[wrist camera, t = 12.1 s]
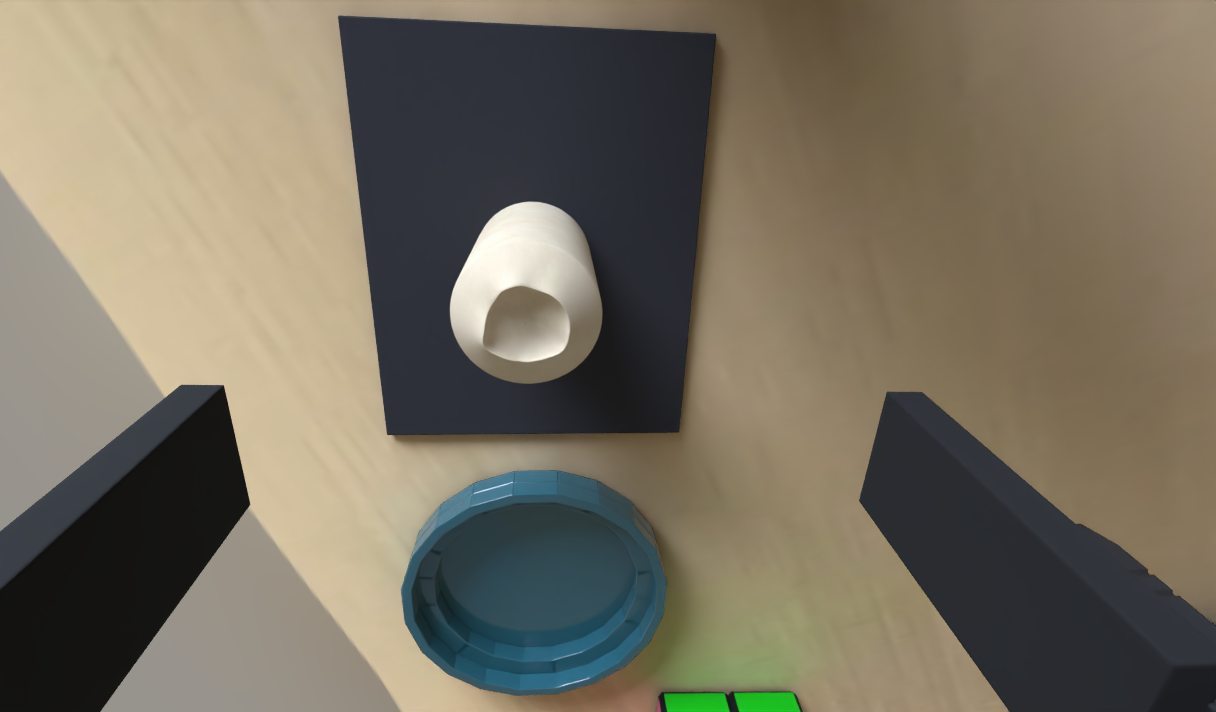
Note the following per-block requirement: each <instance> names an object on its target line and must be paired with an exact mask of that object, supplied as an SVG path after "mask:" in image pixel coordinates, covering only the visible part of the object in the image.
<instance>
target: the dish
mask: <svg viewBox="0 0 1216 712" xmlns="http://www.w3.org/2000/svg"><path fill="white" fill-rule="evenodd" d="M666 589H667V580H666V576H665V571H664V567H663V563H662V558H661V554H660V551H659V548H658V545H657V542H656V539H655V536H654V533H653V529H652V527H651V526H650V524H649V523H648V522H647V521H646V520H645V518H644V517H643V516H642V515H641V514H640V512H639V511H638V510H637V509H636V507H635V506H634V505H633V504H632V503H631V501H630V500H629V499H627V498H625V497H624V496H622V495H620V494H619V493H617V492H615V491H614V490H612V489H611V488H609V487H607V486H606V485H604V484H602V483H601V482H599V481H596V480H593V479H589V478H585V477H581V476H577V475H574V474H570V473H566V472H562V471H556V470H551V471H516V472H515V471H513V472H510V473H507V474H503V475H500V476H496V477H493V478H489V479H486V480H482V481H479V482H476V483H473V484H472V485H470V486H469V487H467V488H466V489H464V490H462V491H461V492H459V493H458V494H456V495H455V496H453V497H452V498H450V499H448V500H447V501H445V502H444V503H442V504H441V505H440V506H439V507H438V509H437V510H436V511H435V512H434V514H433V515H432V516H431V517H430V519H429V520H428V521H427V522H426V524H425V525H424V526H423V527H422V529H421V530H420V531H419V533H418V536H417V539H416V542H415V546H414V549H413V552H412V555H411V559H410V562H409V565H408V569H407V572H406V575H405V578H404V582H403V585H402V588H401V595H402V603H403V612H404V620H405V624H406V626H407V627H408V629H409V631H410V633H411V634H412V636H413V638H414V640H415V641H416V643H417V645H418V647H419V648H420V650H421V651H422V653H423V654H425V655H426V656H427V657H428V658H429V659H430V660H432V661H433V662H434V663H435V664H436V665H437V666H439V667H440V668H441V669H442V670H443V671H444V672H446V673H447V674H448V675H450V676H453V677H455V678H457V679H459V680H462V681H464V682H466V683H468V684H470V685H473V686H475V687H477V688H479V689H483V690H489V691H494V692H500V693H505V694H511V695H516V696H518V695H519V696H526V695H549V694H559V693H563V692H566V691H570V690H574V689H577V688H581V687H585V686H588V685H592V684H595V683H596V682H598V681H600V680H602V679H604V678H605V677H607V676H609V675H611V674H613V673H614V672H616V671H618V670H620V669H622V668H623V667H625V666H626V665H627V664H628V663H629V662H630V661H631V660H632V659H633V658H634V657H635V656H636V655H637V654H638V653H640V652H641V651H642V650H643V649H644V648H645V647H646V646H647V645H648V644H649V642H650V640H651V638H652V636H653V635H654V633H655V631H656V629H657V627H658V625H659V623H660V621H661V619H662V617H663V615H664V610H665V600H666Z"/></svg>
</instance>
